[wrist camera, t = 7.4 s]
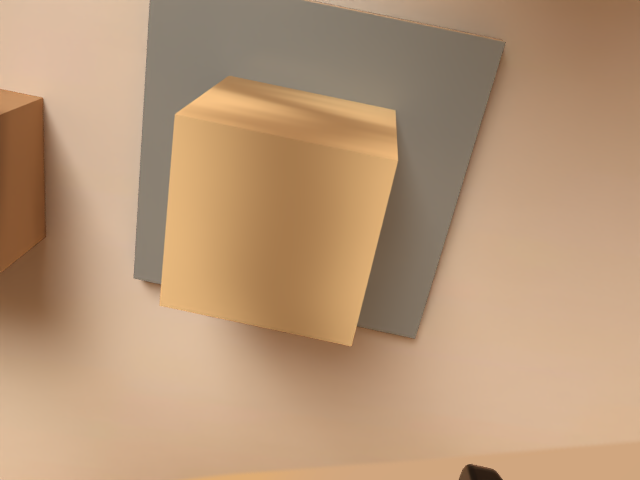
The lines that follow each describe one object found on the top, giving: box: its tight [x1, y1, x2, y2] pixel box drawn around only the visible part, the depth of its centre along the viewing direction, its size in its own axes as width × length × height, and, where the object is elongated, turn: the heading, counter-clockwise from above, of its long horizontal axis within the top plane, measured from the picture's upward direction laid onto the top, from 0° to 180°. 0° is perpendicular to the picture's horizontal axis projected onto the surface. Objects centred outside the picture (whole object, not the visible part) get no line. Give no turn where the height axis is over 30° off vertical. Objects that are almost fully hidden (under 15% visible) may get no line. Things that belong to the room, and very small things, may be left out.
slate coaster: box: [134, 0, 506, 339], centre depth 19 cm, size 10×10×1 cm
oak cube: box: [159, 76, 398, 347], centre depth 17 cm, size 5×5×5 cm
